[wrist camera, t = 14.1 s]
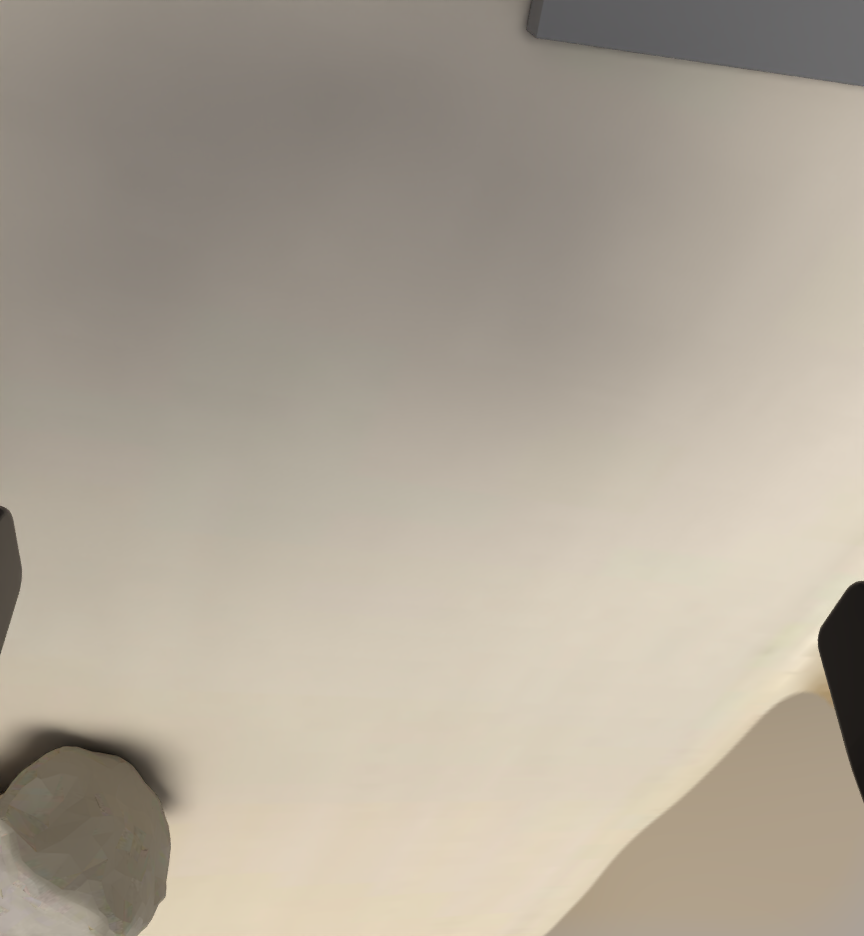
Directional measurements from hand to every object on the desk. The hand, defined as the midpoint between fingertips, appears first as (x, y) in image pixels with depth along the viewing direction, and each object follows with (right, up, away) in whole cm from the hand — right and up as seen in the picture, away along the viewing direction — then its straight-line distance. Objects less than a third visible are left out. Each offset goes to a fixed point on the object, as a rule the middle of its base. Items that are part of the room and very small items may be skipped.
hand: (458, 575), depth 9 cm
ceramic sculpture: (-17, -12, +24) cm, 32 cm away
